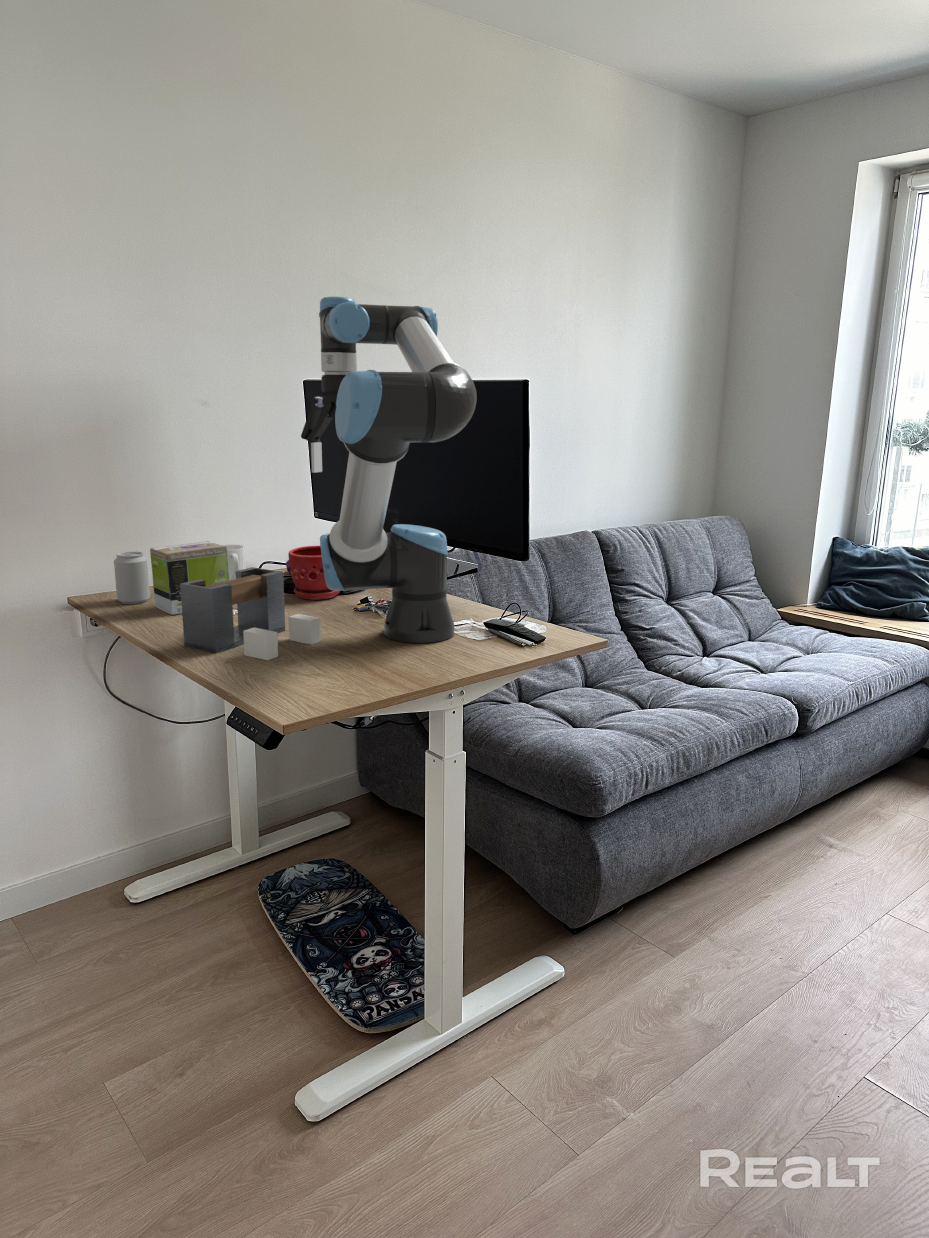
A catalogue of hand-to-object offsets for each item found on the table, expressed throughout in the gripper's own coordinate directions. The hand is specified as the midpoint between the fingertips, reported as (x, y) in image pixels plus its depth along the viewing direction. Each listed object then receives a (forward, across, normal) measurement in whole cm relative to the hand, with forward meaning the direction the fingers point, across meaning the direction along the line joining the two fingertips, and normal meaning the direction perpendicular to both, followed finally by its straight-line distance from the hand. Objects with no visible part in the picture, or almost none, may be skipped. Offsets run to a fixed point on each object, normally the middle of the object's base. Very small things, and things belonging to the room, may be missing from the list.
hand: (341, 474), depth 192 cm
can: (+33, -52, -16) cm, 64 cm away
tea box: (+33, -36, -12) cm, 50 cm away
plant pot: (+33, -19, +13) cm, 40 cm away
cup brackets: (+33, -8, -26) cm, 43 cm away
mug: (+33, -43, +8) cm, 55 cm away
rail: (+25, -8, -26) cm, 37 cm away
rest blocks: (+33, +5, -26) cm, 42 cm away
